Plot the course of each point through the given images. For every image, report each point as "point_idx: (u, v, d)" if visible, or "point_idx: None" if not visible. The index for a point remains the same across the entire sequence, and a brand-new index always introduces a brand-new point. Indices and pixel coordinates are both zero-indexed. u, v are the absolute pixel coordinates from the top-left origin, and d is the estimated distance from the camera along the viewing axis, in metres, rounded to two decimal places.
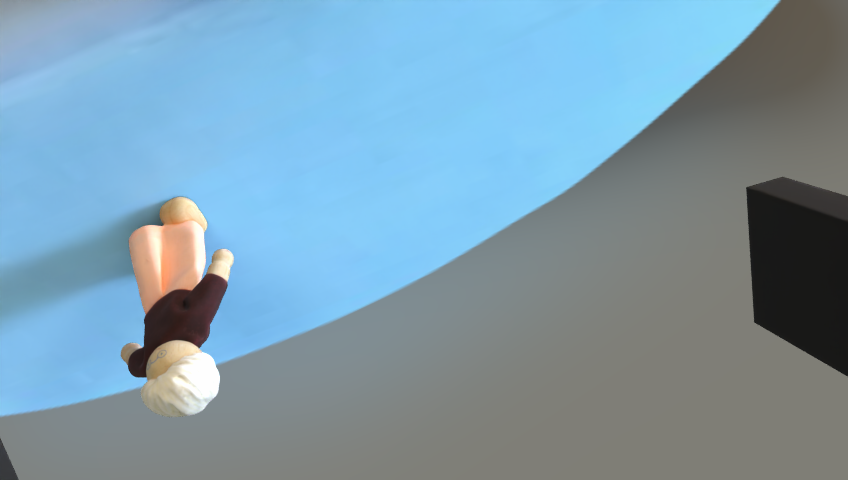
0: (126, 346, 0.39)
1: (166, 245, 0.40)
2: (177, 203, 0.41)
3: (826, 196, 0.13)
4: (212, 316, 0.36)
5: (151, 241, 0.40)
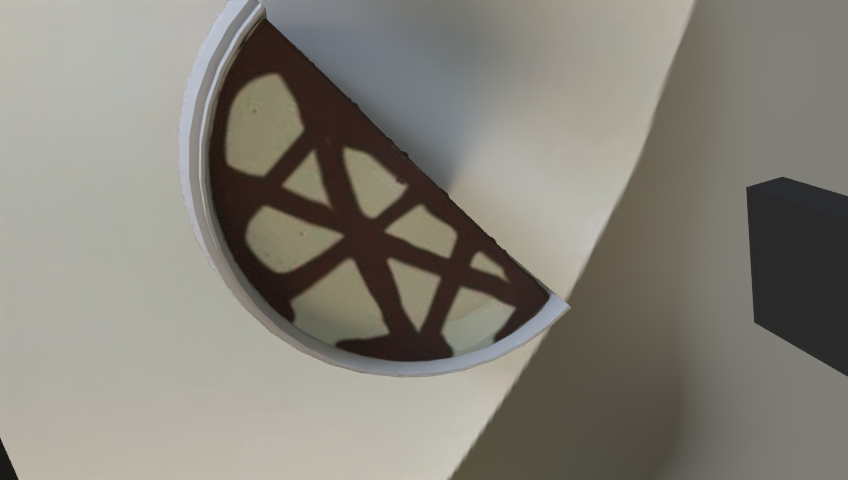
0: None
1: None
2: None
3: (826, 196, 0.13)
4: None
5: None
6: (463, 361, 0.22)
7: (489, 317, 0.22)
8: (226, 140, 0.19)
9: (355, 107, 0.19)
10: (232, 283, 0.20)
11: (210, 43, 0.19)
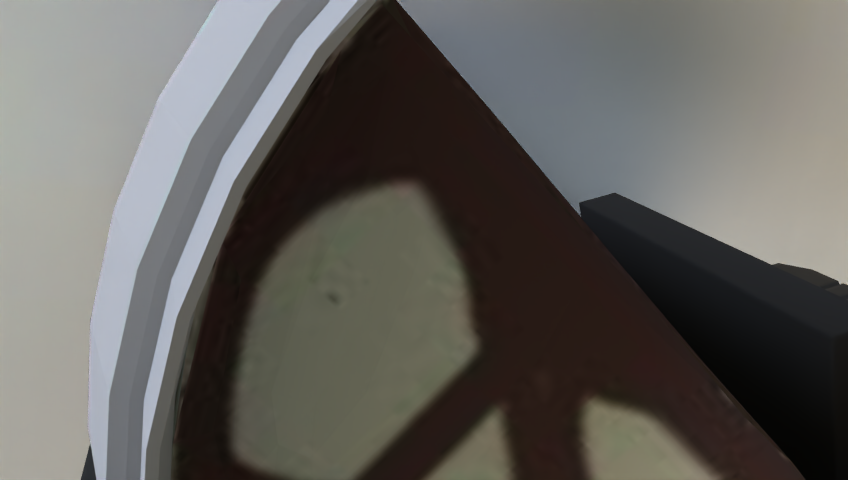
0: None
1: None
2: None
3: (640, 212, 0.14)
4: None
5: None
6: None
7: None
8: (236, 388, 0.06)
9: (630, 282, 0.06)
10: None
11: (198, 72, 0.06)
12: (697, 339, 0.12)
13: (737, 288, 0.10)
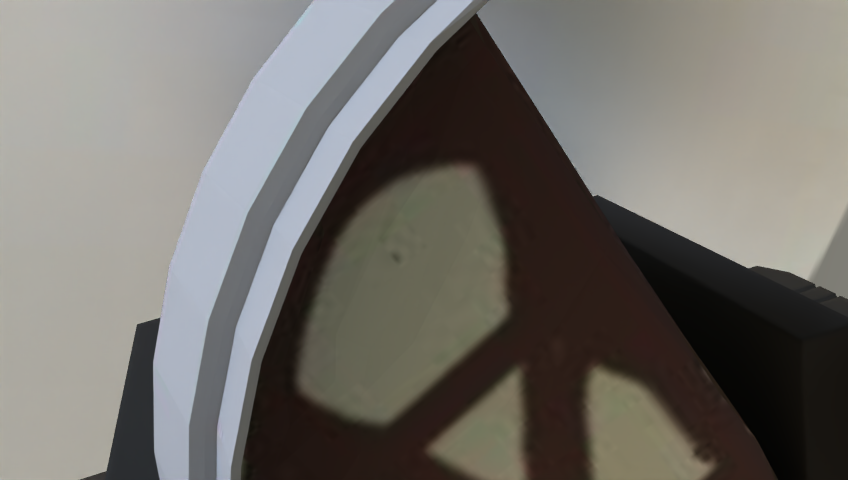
0: None
1: None
2: None
3: (621, 215, 0.14)
4: None
5: None
6: None
7: None
8: (307, 328, 0.07)
9: (636, 270, 0.08)
10: None
11: (302, 57, 0.07)
12: None
13: (712, 291, 0.11)
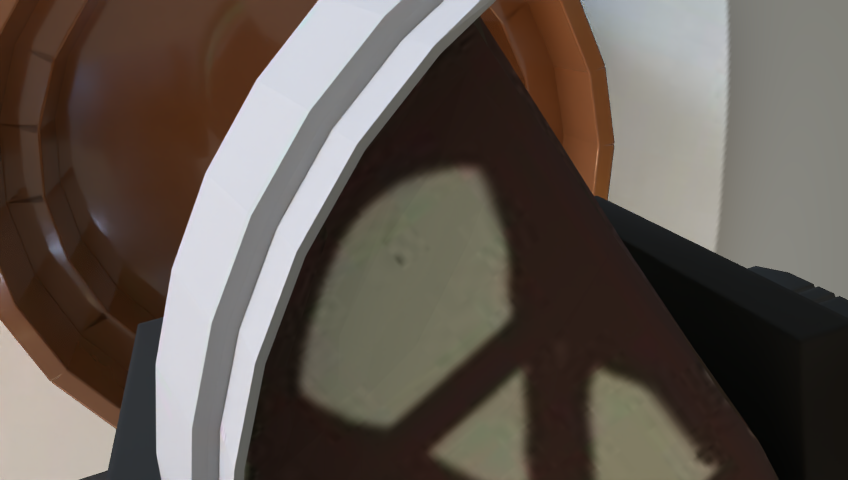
0: None
1: None
2: None
3: (620, 215, 0.14)
4: None
5: None
6: None
7: None
8: (310, 331, 0.07)
9: (639, 272, 0.08)
10: None
11: (306, 59, 0.07)
12: None
13: (711, 291, 0.11)
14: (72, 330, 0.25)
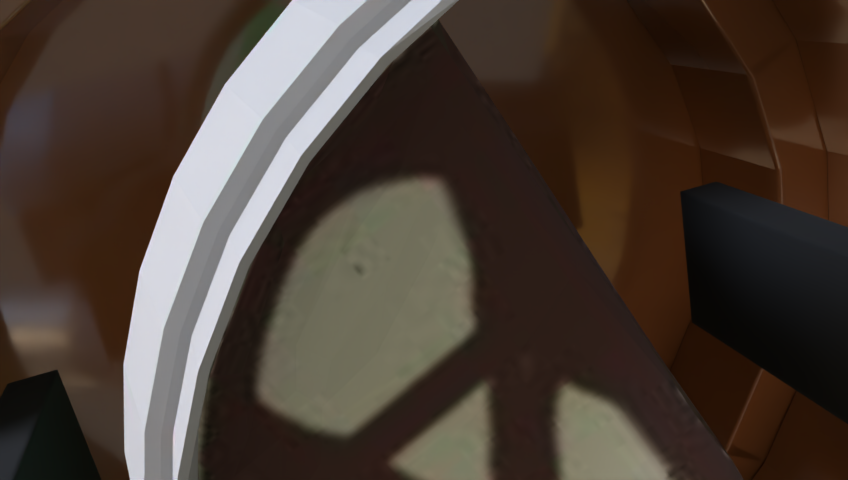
0: None
1: None
2: None
3: (751, 201, 0.13)
4: None
5: None
6: None
7: None
8: (267, 337, 0.07)
9: (610, 287, 0.07)
10: None
11: (268, 66, 0.07)
12: (829, 331, 0.11)
13: None
14: None
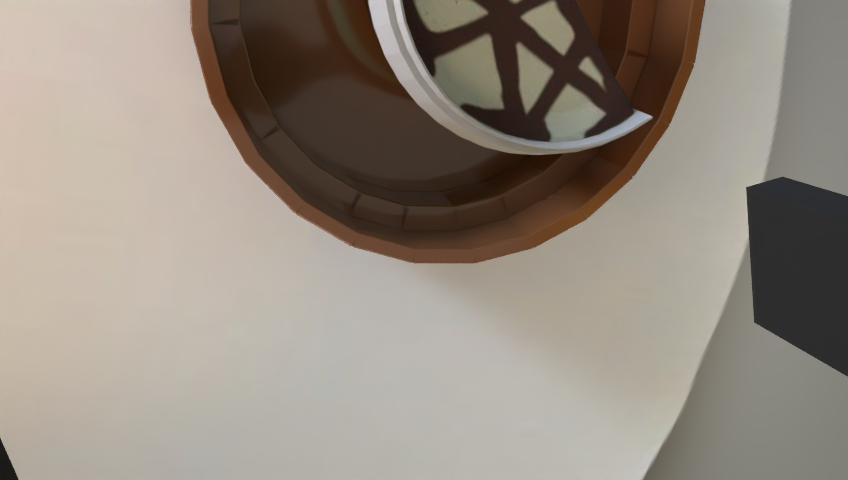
0: None
1: None
2: None
3: (826, 196, 0.13)
4: None
5: None
6: (559, 144, 0.26)
7: (584, 116, 0.26)
8: None
9: None
10: (396, 27, 0.24)
11: None
12: None
13: None
14: (253, 136, 0.30)
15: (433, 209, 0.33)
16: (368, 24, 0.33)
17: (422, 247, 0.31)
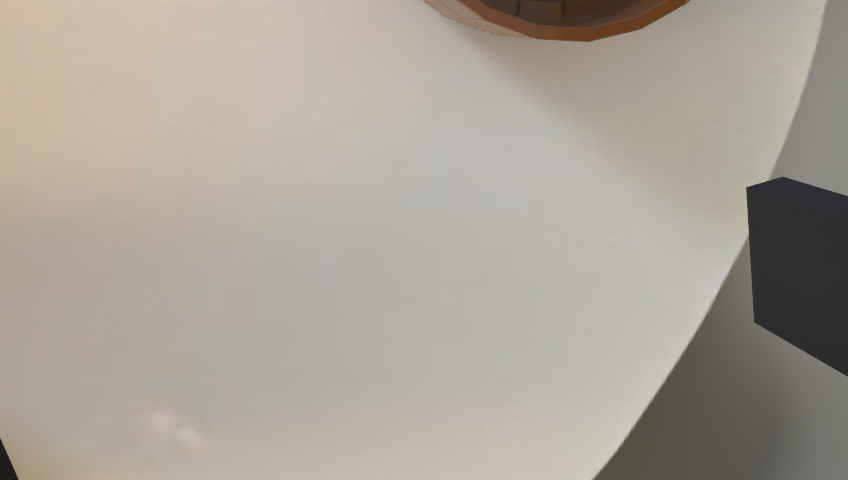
0: None
1: None
2: None
3: (826, 196, 0.13)
4: None
5: None
6: None
7: None
8: None
9: None
10: None
11: None
12: None
13: None
14: None
15: (543, 4, 0.36)
16: None
17: (542, 25, 0.34)
